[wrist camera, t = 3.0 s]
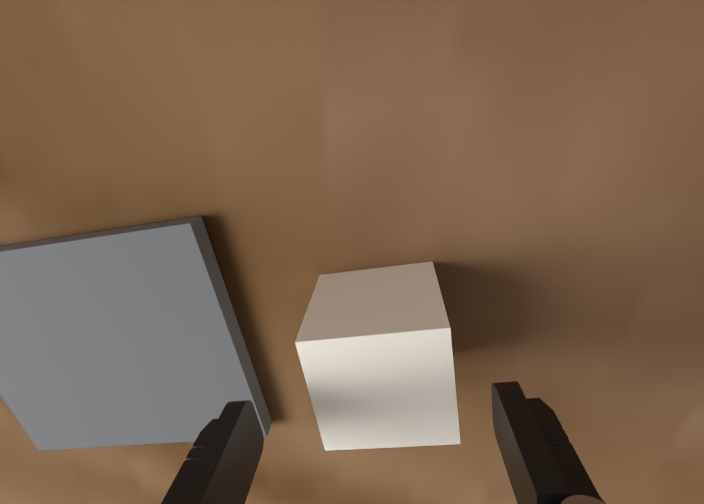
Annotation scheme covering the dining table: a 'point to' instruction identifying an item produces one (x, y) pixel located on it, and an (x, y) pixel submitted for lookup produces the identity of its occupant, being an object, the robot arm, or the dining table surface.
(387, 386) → the white cube
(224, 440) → the robot arm
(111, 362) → the rubber mat
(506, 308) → the dining table surface
